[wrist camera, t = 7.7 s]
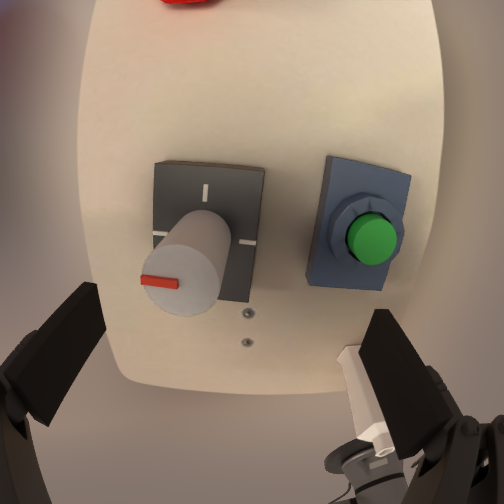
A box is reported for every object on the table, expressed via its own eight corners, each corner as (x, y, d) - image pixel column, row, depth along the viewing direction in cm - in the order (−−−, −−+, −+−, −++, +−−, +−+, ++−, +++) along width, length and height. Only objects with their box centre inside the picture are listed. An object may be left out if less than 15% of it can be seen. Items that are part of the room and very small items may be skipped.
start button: (381, 259, 23) (389, 267, 21) (342, 254, 23) (348, 263, 21) (392, 217, 21) (402, 223, 20) (352, 209, 21) (360, 215, 20)
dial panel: (249, 287, 28) (248, 304, 25) (164, 277, 28) (154, 292, 25) (263, 168, 24) (265, 171, 21) (165, 160, 23) (153, 163, 20)
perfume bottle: (332, 347, 31) (364, 451, 17) (365, 338, 31) (408, 435, 17) (334, 371, 33) (361, 466, 19) (365, 362, 33) (400, 453, 19)
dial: (233, 212, 22) (222, 251, 14) (228, 266, 24) (217, 324, 16) (176, 207, 22) (137, 242, 14) (175, 260, 24) (143, 313, 16)
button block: (374, 281, 28) (388, 300, 24) (305, 275, 28) (312, 295, 24) (400, 172, 23) (421, 178, 20) (326, 155, 23) (339, 157, 19)
